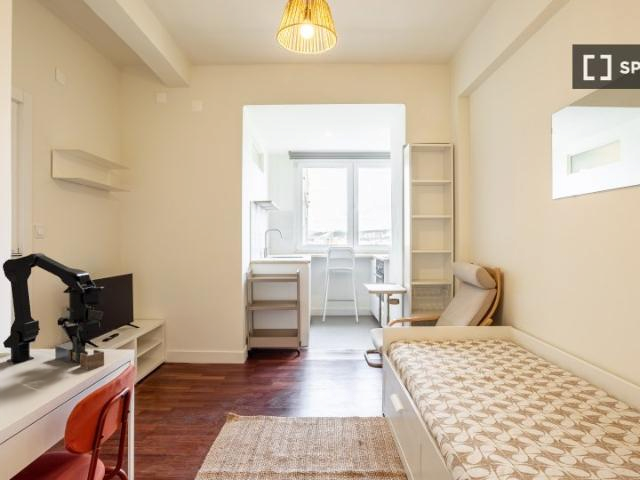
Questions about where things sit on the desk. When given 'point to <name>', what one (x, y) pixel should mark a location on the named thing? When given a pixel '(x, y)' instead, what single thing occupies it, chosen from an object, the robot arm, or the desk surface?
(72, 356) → the slider
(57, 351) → the sleeve
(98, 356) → the socket
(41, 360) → the desk surface
